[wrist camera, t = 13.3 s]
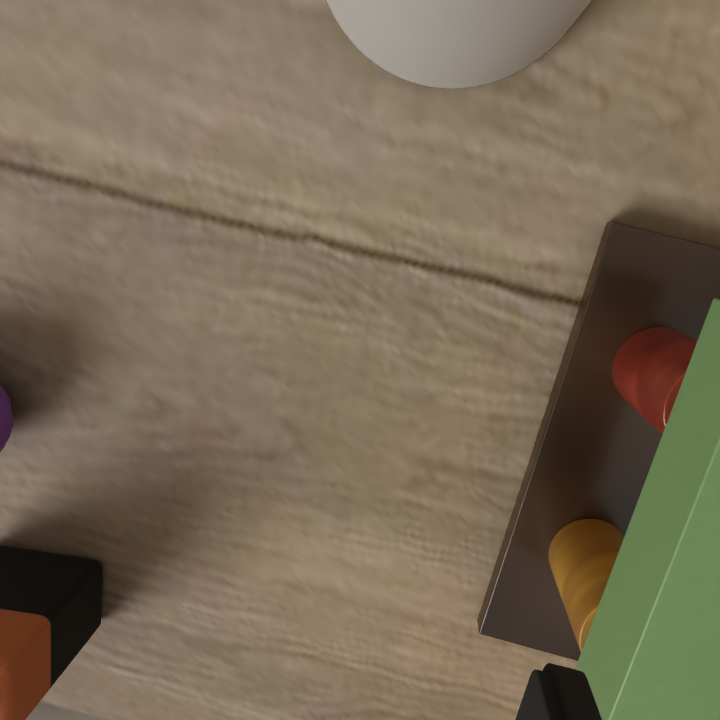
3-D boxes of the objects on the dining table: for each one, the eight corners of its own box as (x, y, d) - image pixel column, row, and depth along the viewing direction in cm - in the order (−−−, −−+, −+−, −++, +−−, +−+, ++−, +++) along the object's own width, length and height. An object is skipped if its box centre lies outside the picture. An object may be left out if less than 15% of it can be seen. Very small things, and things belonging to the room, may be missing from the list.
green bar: (712, 297, 24) (769, 314, 20) (810, 321, 24) (886, 343, 20) (557, 712, 28) (579, 793, 24) (640, 735, 28) (675, 820, 24)
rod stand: (606, 221, 31) (669, 224, 23) (775, 263, 31) (897, 280, 23) (476, 620, 36) (491, 734, 28) (620, 660, 36) (676, 786, 28)
